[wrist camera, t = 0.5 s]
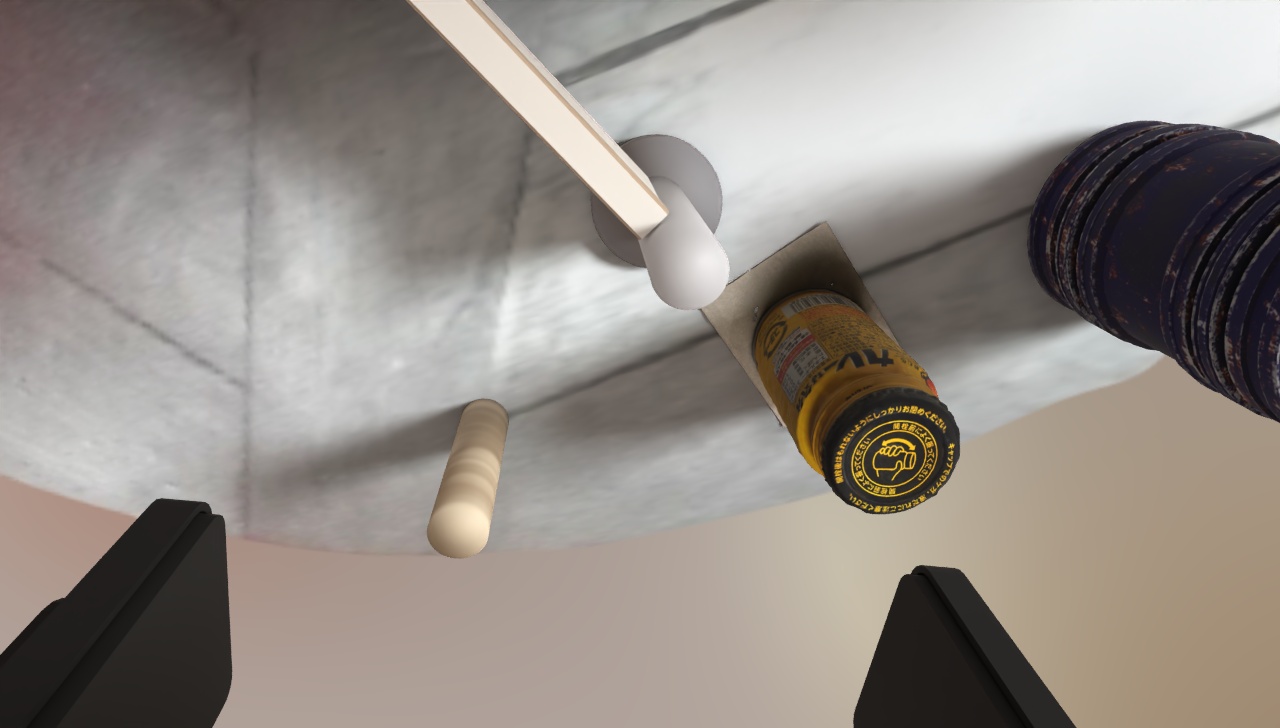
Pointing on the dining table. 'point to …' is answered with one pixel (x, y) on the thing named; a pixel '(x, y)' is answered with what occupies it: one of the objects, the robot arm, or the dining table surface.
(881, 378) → the condiment
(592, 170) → the gate
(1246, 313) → the storage jar
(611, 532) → the dining table surface
